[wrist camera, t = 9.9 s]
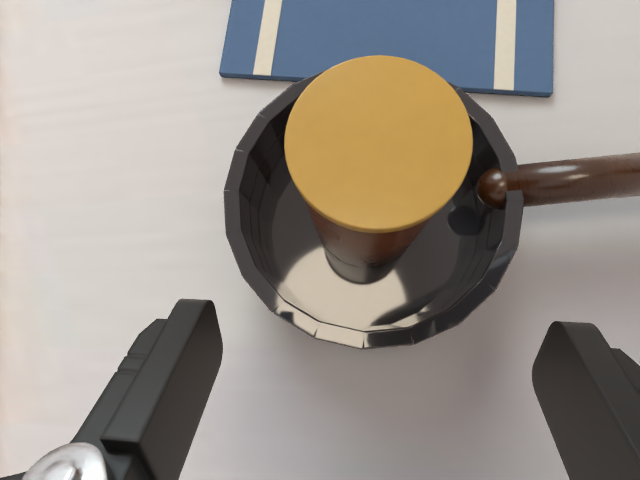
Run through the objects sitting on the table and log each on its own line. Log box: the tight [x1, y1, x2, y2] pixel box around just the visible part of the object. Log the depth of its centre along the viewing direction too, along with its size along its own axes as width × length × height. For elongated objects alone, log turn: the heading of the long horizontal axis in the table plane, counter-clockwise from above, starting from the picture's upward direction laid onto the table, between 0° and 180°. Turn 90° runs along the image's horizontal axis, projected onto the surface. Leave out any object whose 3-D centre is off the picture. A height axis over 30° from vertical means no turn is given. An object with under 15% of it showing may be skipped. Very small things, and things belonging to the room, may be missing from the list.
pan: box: [224, 68, 524, 349], centre depth 19 cm, size 12×12×4 cm
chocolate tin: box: [284, 55, 473, 267], centre depth 16 cm, size 5×5×9 cm
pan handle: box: [476, 153, 640, 209], centre depth 17 cm, size 10×2×2 cm, turn 95°
